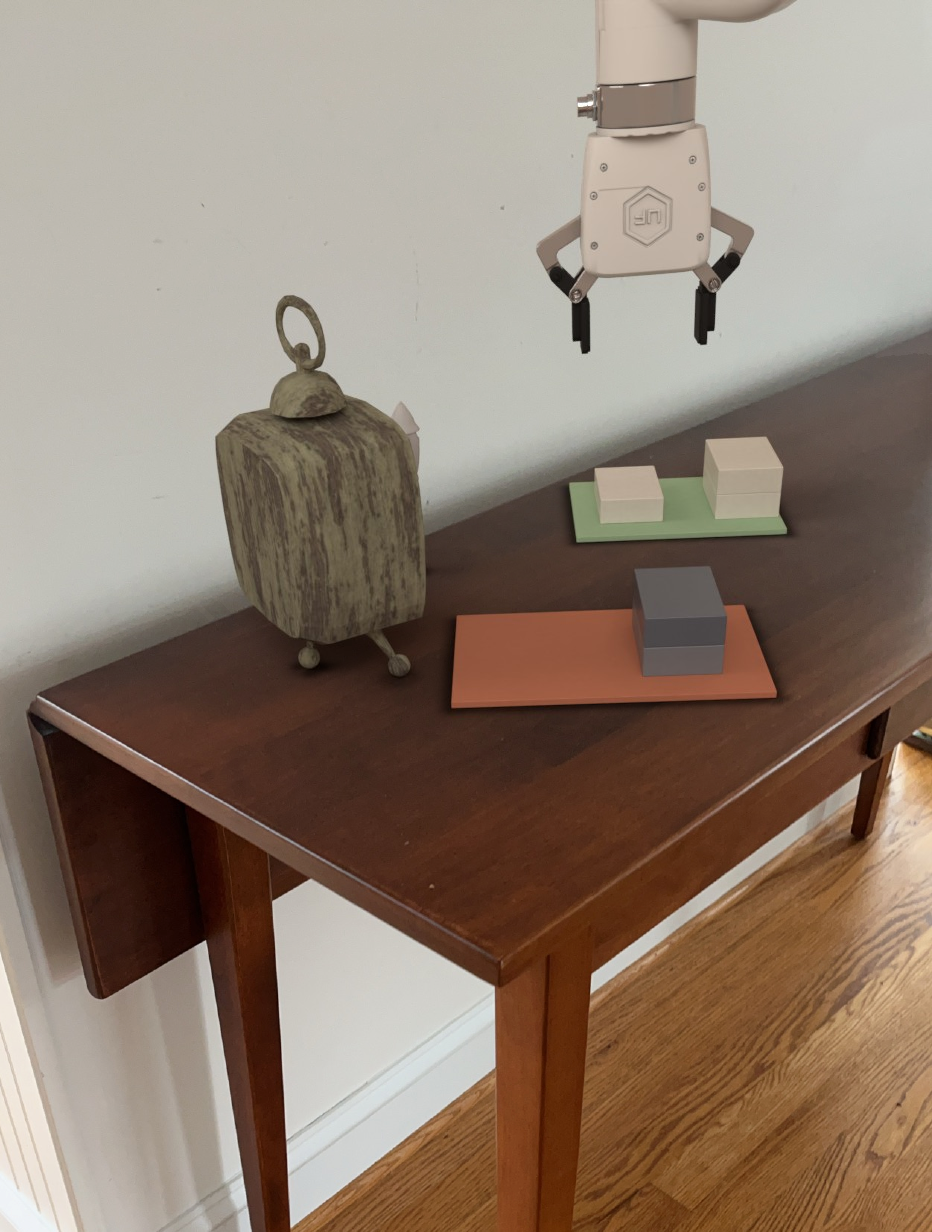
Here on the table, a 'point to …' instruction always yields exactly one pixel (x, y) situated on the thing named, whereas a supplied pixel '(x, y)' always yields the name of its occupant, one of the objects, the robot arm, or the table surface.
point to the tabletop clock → (323, 509)
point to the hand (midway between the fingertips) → (642, 345)
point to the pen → (408, 428)
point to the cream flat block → (628, 495)
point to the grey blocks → (678, 621)
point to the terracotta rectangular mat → (588, 662)
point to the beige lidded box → (742, 478)
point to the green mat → (666, 516)
